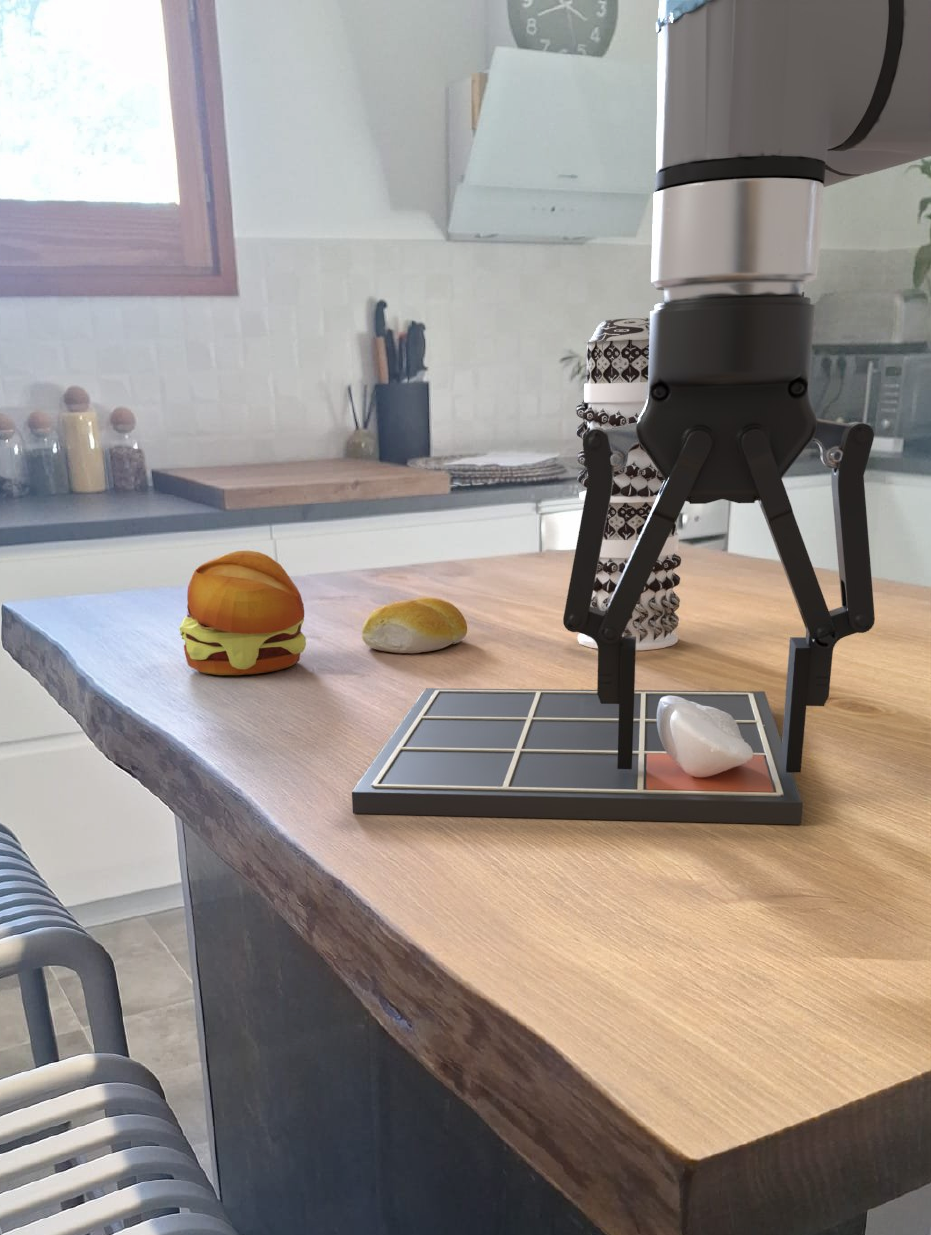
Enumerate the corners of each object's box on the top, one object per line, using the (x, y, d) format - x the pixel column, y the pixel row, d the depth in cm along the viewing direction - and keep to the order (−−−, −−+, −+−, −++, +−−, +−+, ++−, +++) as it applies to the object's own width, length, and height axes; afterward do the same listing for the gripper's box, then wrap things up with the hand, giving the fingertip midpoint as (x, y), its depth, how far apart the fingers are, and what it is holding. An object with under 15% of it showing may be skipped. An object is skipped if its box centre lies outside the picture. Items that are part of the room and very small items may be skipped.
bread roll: (480, 637, 108) (479, 591, 106) (431, 658, 101) (430, 608, 99) (398, 630, 112) (397, 586, 110) (346, 650, 104) (343, 602, 103)
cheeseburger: (283, 644, 106) (285, 532, 101) (327, 699, 99) (332, 580, 93) (167, 656, 102) (163, 539, 97) (203, 714, 95) (201, 591, 89)
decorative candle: (631, 625, 111) (640, 322, 101) (705, 641, 103) (721, 316, 94) (551, 639, 106) (552, 322, 97) (622, 656, 99) (631, 316, 90)
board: (763, 708, 83) (764, 689, 82) (800, 825, 62) (803, 800, 61) (426, 704, 86) (425, 686, 86) (352, 813, 65) (351, 790, 65)
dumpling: (636, 762, 69) (649, 691, 68) (726, 775, 69) (739, 705, 69) (667, 777, 62) (682, 698, 61) (766, 791, 63) (782, 713, 62)
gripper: (949, 290, 59) (897, 747, 68) (517, 307, 62) (519, 740, 71) (987, 280, 52) (925, 789, 61) (500, 299, 56) (505, 780, 64)
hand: (707, 762), depth 66 cm, fingers open, 8 cm apart
